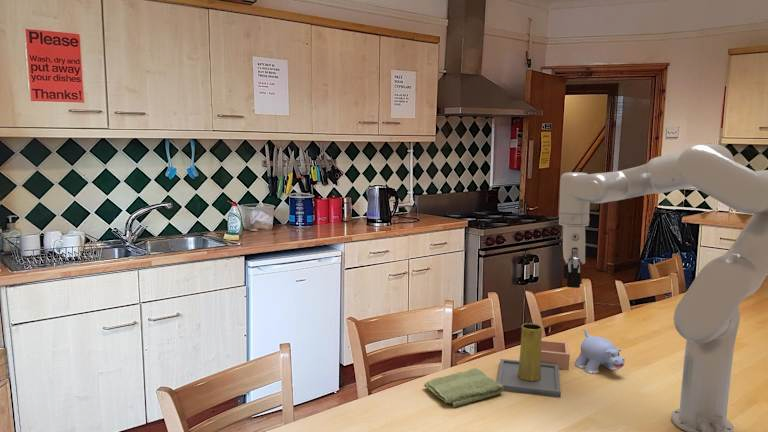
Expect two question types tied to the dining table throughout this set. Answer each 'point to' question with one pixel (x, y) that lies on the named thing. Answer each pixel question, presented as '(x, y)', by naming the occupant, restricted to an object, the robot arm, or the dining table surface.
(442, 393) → the washcloth
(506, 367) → the tray
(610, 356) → the hippopotamus toy
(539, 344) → the vase
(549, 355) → the pink square frame
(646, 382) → the dining table surface
